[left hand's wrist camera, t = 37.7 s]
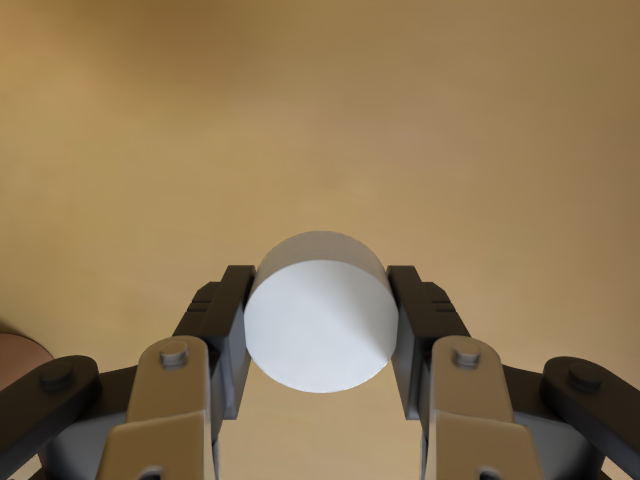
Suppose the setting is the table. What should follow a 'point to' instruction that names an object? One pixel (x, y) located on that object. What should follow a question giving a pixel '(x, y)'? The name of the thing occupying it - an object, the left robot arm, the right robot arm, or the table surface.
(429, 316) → the left robot arm
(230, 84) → the table surface
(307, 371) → the cap
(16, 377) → the bottle
